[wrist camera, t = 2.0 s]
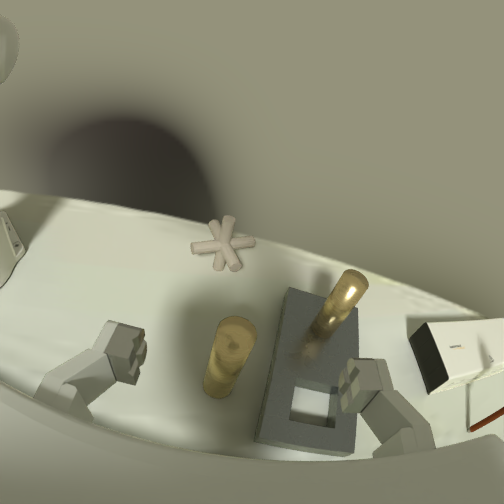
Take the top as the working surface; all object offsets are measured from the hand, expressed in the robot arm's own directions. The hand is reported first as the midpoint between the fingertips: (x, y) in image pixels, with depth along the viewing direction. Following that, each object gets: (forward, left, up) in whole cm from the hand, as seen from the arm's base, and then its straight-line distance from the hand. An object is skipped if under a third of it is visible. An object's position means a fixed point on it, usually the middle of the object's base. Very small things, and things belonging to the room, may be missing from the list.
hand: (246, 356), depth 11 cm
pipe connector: (-22, +20, -26) cm, 39 cm away
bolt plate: (+1, +19, -25) cm, 32 cm away
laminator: (+24, +48, -26) cm, 60 cm away
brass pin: (-6, +7, -25) cm, 27 cm away
